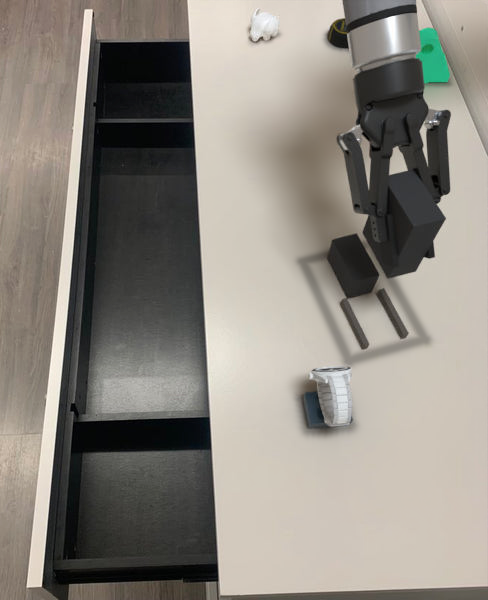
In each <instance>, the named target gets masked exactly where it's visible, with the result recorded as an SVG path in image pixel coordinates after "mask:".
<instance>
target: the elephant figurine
mask: <svg viewBox="0 0 488 600" xmlns="http://www.w3.org/2000/svg"><path fill="white" fill-rule="evenodd" d="M260 10H261V8H260V7H258V8H256V9H254V11H253V13H252V14H251V16H250V21H249V22H250V25H251V27H250V31H249V35H248V36H249V37H251V40H252V41H253V42H255V43H256V42H257V41H259V40H260V39H259V38H261V37H262V39H263V41H269V40H270V39H271V37H272V38H273V37H276V36H277V35H278V31H279V28H280V24H281V23H280V19H279V18H278V17H280V14H278V15H277V16H276V15H274V14H272V13H270V12H268V11H262V12H260Z"/></svg>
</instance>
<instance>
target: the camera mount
mask: <svg viewBox="0 0 488 600" xmlns="http://www.w3.org/2000/svg"><path fill="white" fill-rule="evenodd" d="M419 34H420V43H421V50H420V52H419V53H418V54H416V59H417V58H419V59H420V61H422V66H423V76H424V84H428V83H448V81H449V79H450V77H451V73H450V69H449V66H448V61H447V58H446V53H445V52H444V51H443V48H442V44H441V41H440V37H439V34H438V31H437V30H436V29H435V28H434V27H425V28H422V29H419Z"/></svg>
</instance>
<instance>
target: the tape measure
mask: <svg viewBox="0 0 488 600" xmlns="http://www.w3.org/2000/svg"><path fill="white" fill-rule="evenodd" d="M327 37H328V41H329V43H330V44H331V45H332V46H333V47H335V48H337V49H349V45H348V38H347V29H346V22H345V17H343V18H338V19H336V20H334V21H333V22H332V24H331V25H330V26H329V30H328V33H327Z"/></svg>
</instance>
